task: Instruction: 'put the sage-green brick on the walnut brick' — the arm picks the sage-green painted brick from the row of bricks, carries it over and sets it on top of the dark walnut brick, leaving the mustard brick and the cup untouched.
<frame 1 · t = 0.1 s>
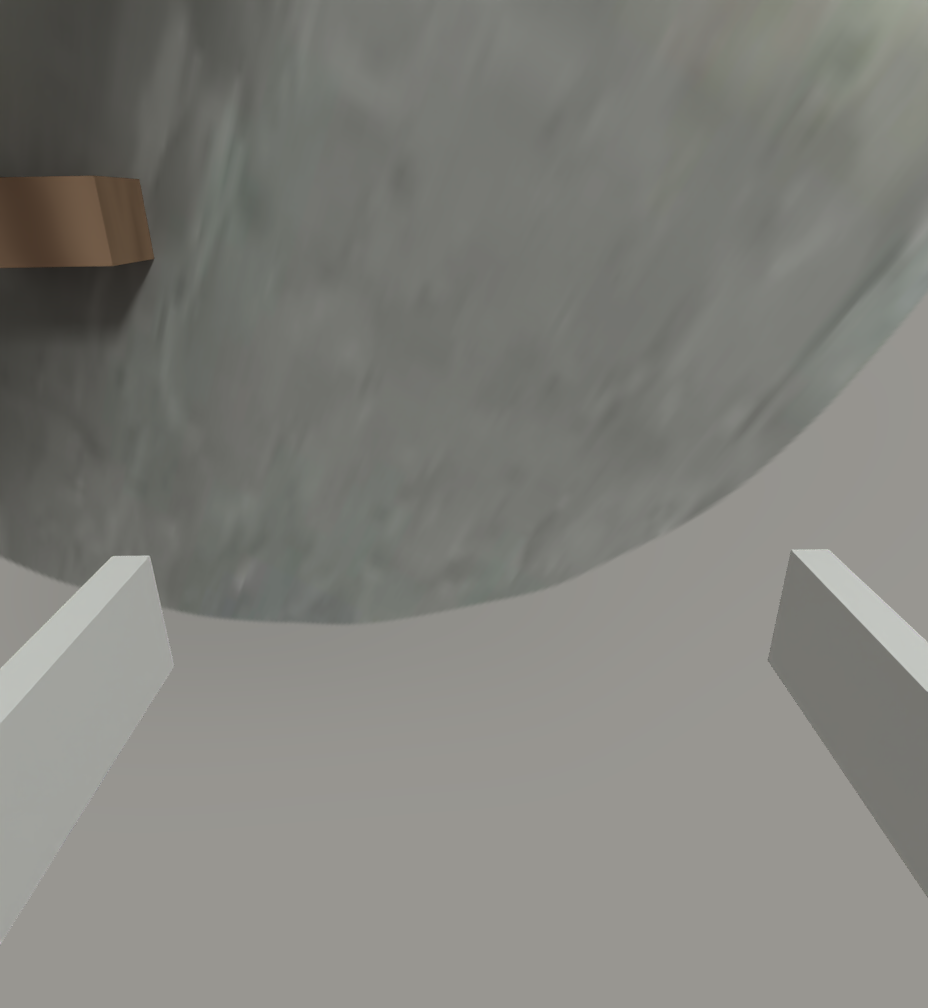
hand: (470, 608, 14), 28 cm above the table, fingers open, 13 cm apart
walnut brick: (74, 221, 37), on the table
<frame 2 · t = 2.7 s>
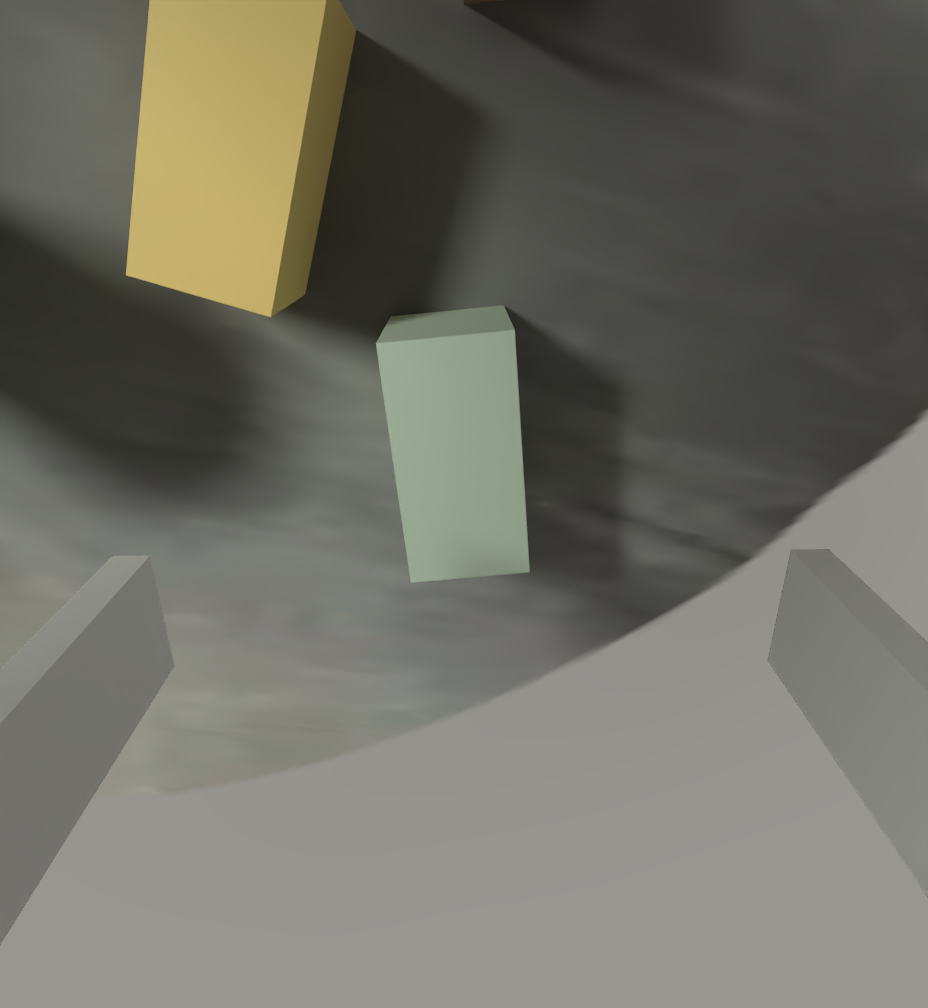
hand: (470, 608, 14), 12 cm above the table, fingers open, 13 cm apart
sage brick: (458, 418, 26), on the table
mustard brick: (268, 152, 22), on the table
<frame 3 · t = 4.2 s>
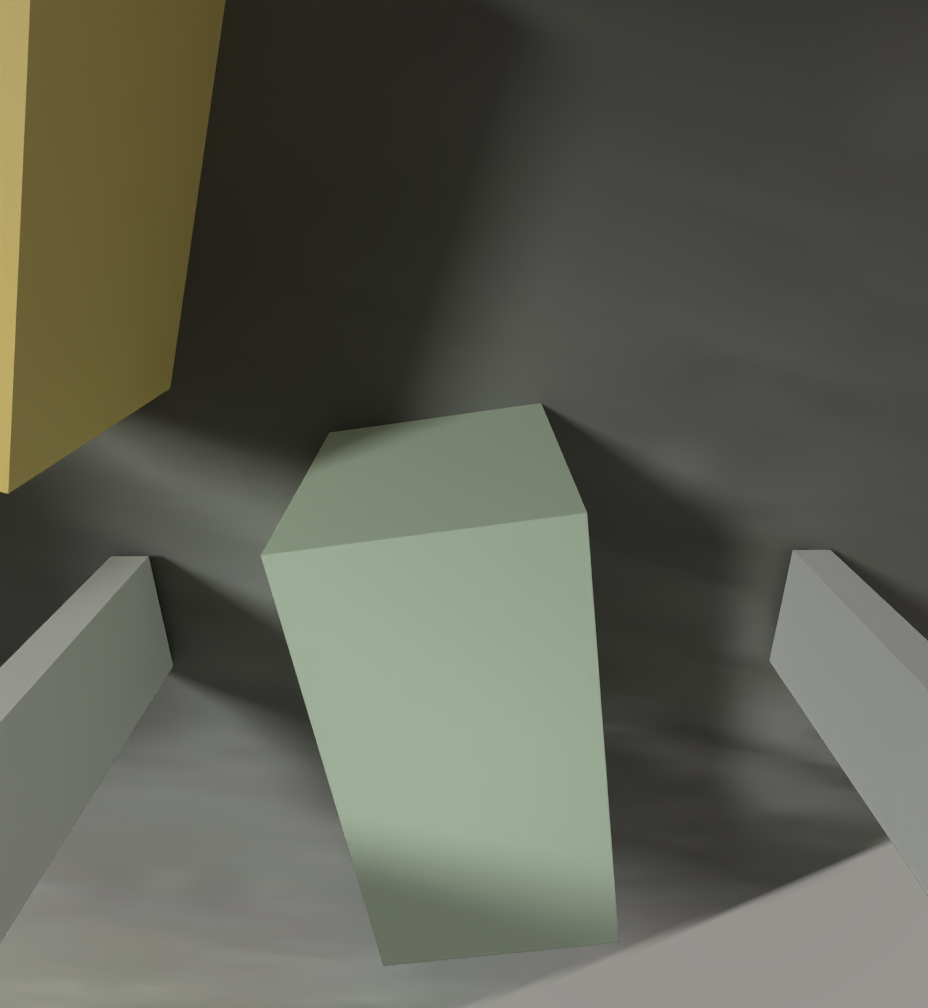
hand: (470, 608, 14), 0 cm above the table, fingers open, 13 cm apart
sage brick: (464, 595, 14), on the table
mustard brick: (79, 111, 11), on the table
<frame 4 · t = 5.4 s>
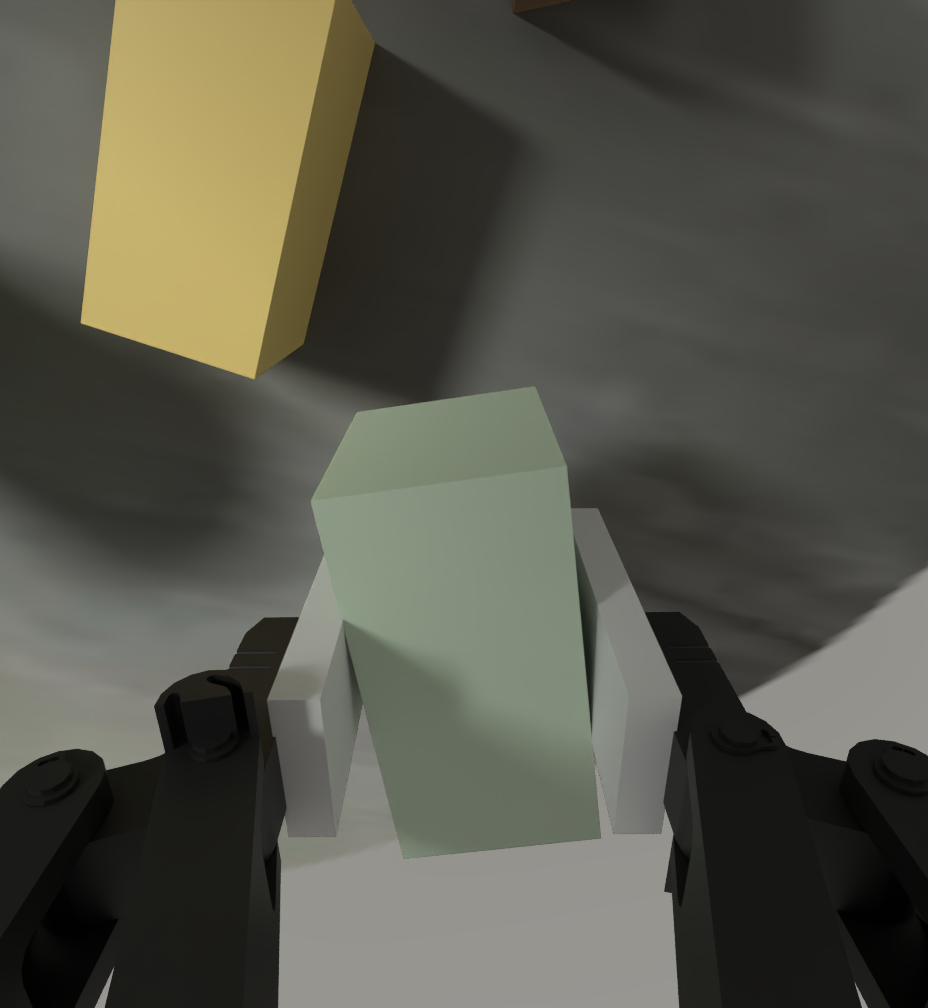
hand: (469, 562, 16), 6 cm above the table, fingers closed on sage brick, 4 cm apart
sage brick: (470, 557, 17), point 6 cm above the table, touching gripper
mustard brick: (267, 180, 19), on the table
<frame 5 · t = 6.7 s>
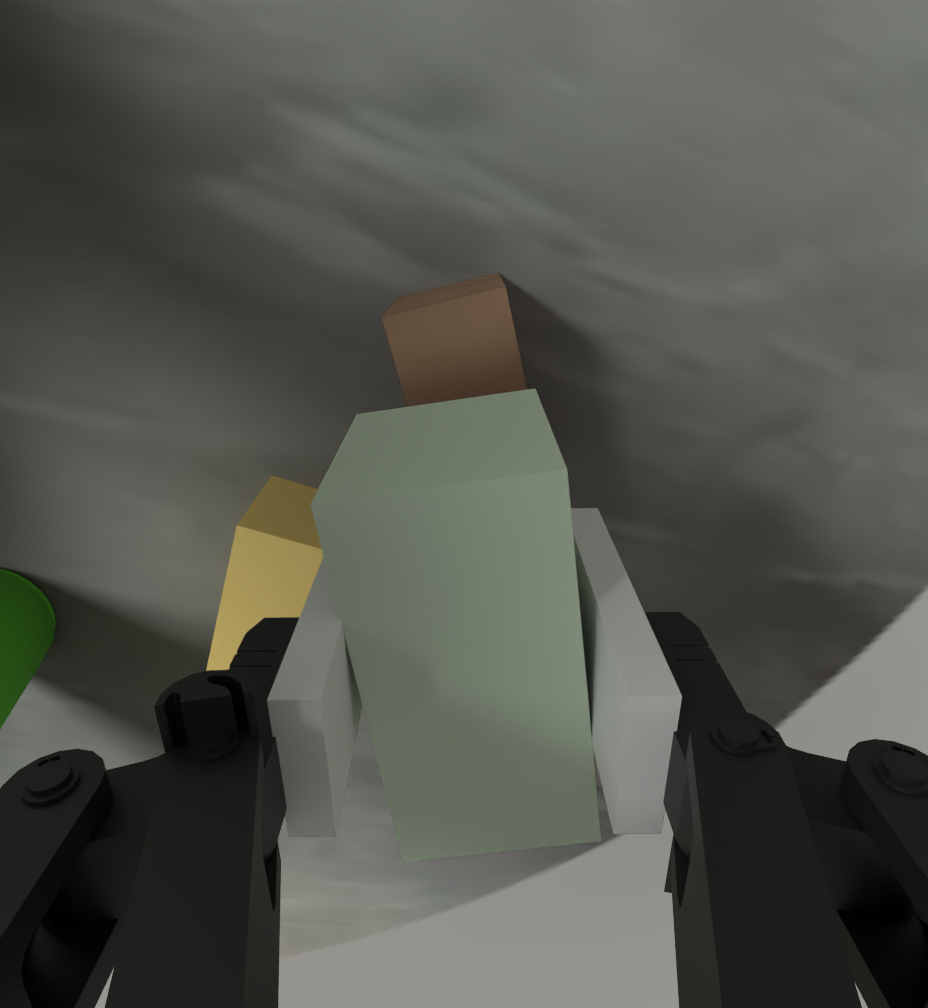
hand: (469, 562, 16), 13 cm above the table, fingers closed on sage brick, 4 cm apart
walnut brick: (471, 386, 27), on the table
sage brick: (470, 559, 17), point 12 cm above the table, touching gripper
mustard brick: (298, 565, 31), on the table
cup: (4, 610, 32), on the table
when the fingers open (6 cm above the table, at t = 8.3 s): sage brick stays where it is, resting on walnut brick.
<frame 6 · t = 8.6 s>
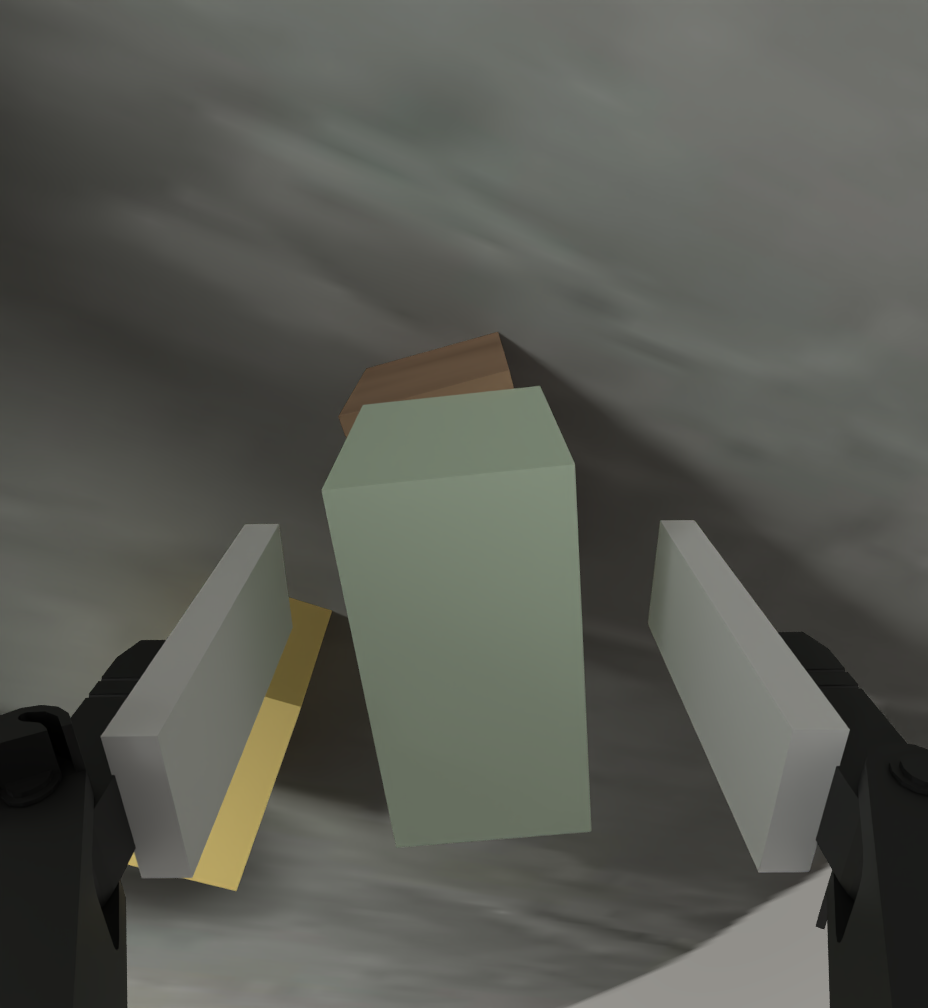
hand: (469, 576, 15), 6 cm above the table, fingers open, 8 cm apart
walnut brick: (467, 473, 21), on the table, touching sage brick
sage brick: (469, 552, 17), point 5 cm above the table, touching walnut brick
mustard brick: (249, 680, 25), on the table
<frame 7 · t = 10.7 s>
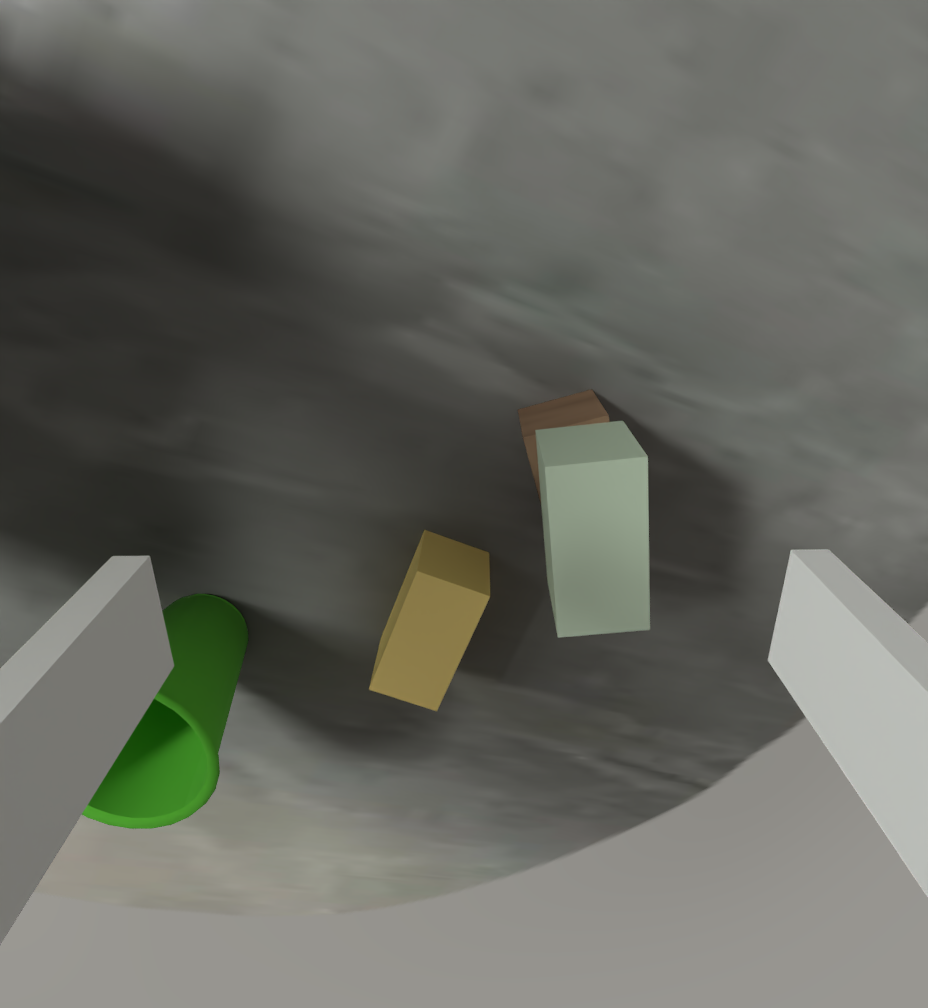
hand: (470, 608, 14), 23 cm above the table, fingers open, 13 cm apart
walnut brick: (571, 467, 37), on the table
sage brick: (583, 504, 33), point 5 cm above the table
mustard brick: (433, 595, 41), on the table
cup: (209, 625, 42), on the table
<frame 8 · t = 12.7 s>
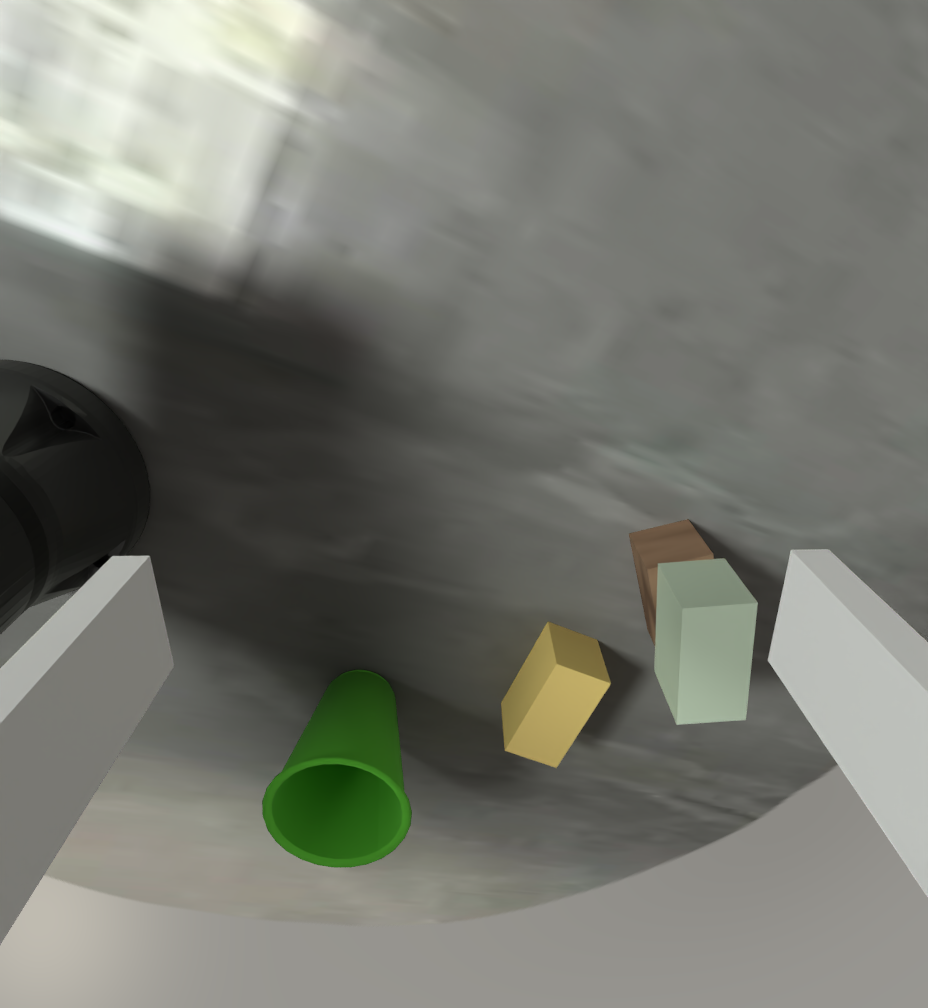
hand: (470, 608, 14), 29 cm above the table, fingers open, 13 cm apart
walnut brick: (666, 575, 47), on the table, touching sage brick
sage brick: (688, 616, 42), point 5 cm above the table, touching walnut brick
mustard brick: (547, 671, 50), on the table
cup: (361, 694, 51), on the table
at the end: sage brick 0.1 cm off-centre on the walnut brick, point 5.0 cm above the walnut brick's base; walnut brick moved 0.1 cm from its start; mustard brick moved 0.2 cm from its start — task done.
